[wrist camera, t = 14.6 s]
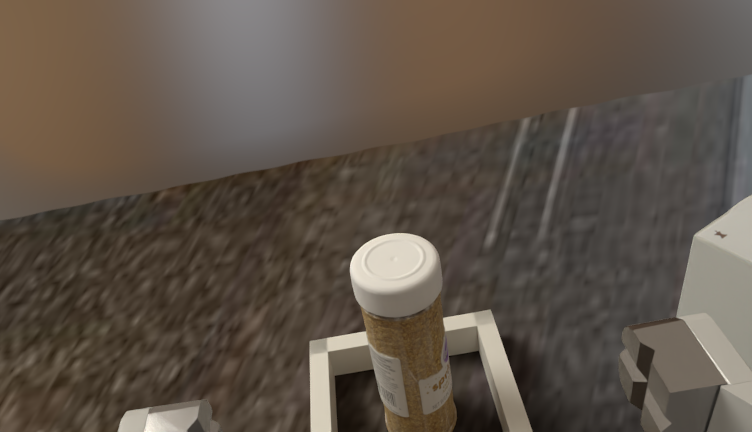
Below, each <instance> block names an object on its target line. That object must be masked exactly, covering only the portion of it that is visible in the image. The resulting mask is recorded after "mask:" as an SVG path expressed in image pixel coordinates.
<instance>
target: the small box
mask: <svg viewBox="0 0 752 432" xmlns="http://www.w3.org/2000/svg"><path fill="white" fill-rule="evenodd" d="M699 313H706V314H708V315H710V316H711V317H712V319H713V320H714V321H715V323H716V324H717V325H718V327H719V328H720V329H721V331H722V332H723V333H724V335H725V336H726V337H727V339H728V340H729V341H730V343H731V344H732V345H733V346H734V348H735V349H736V350H737V352H738V353H739V354H740V356H741V357H742V358H743V360H744V361H745V362H746V364H747V365H748V366H749V368H750V369H751V370H752V195H751V196H749V197H747V198H745V199H744V200H742V201H741V202H739V203H738V204H736V205H735V206H734V207H732V208H731V209H730V210H729V211H728V212H726V213H725V214H724V215H722V216H721V217H719V218H718V219H716V220H715V221H713V222H712V223H711V224H709V225H708V226H706V227H705V228H703V229H702V230H700V231H699V232H697V233H696V234H695V235H694V238H693V242H692V247H691V251H690V256H689V261H688V265H687V270H686V274H685V279H684V284H683V288H682V293H681V297H680V302H679V307H678V311H677V316H676V318H678V317H682V316H688V315H693V314H699Z"/></svg>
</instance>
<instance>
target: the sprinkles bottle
mask: <svg viewBox="0 0 752 432" xmlns="http://www.w3.org/2000/svg"><path fill="white" fill-rule="evenodd" d="M350 275H351V280H352V286H353V290H354V294H355V297H356V300H357V301H358V303H359V304H360V305H361V309H362V314H363V317H364V322H365V326H366V336H367V341H368V345H369V349H370V354H371V358H372V363H373V367H374V371H375V375H376V380H377V384H378V389H379V393H380V397H381V399H382V401H383V403H384V407H385V422H386V426H387V429H388V431H389V432H453V429H454V426H455V425H456V420H457V410H456V407H455V404H454V402H453V395H452V378H451V370H450V363H449V354H448V347H447V339H446V331H445V327H444V322H443V312H442V307H441V305H442V304H441V297H440V293H441V288H442V273H441V265H440V259H439V255H438V252H437V250H436V249H435V247H434V246H433V245H432V244H431V243H430V242H429V241H427V240H425V239H424V238H422V237H419V236H416V235H412V234H405V233H396V234H388V235H384V236H380V237H378V238H375V239H373V240H371V241H369V242H367V243H366V244H364V245H363V246H362V247H361V248H360V249H359V250H358V251H357V252H356V253H355V255H354V256H353V258H352V261H351V264H350Z"/></svg>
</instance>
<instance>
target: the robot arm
mask: <svg viewBox="0 0 752 432" xmlns="http://www.w3.org/2000/svg"><path fill="white" fill-rule="evenodd" d="M622 341H623V343H624V345H625V347H626V349H625V350H624V351H623V352H622V353H621V354H620V355H619V364H618V368H619V374H620V380H621V383H622V386H623V389H624V392H625V394H626V396H627V398H628V400H629V402H630V403H631V404H633V405H634V406H636V407H638V408H639V409H641V410H642V416H641V421H640V423H641V425H642V427H643V429H644V431H645V432H752V370H751V369H750V368H749V366H748V365H747V364H746V362H745V361H744V360H743V358H742V357H741V356H740V354H739V353H738V352H737V350H736V349H735V348H734V346H733V345H732V344H731V343H730V341H729V340H728V339H727V337H726V336H725V335H724V333H723V332H722V331H721V329H720V328H719V327H718V325H717V324H716V323H715V321H714V320H713V319H712V317H711V316H710V315H708V314H706V313H699V314H693V315H688V316H682V317H678V318H676V317H673V318H668V319H662V320H657V321H651V322H646V323H641V324H635V325H630V326H626V327H625V329H624V330H623V334H622ZM211 416H212V408H211V406H210V405H209V403H208V401H207V399H206V400H198V401H191V402H184V403H177V404H170V405H163V406H156V407H150V408H144V409H137V410H131V411H127V412H126V413H125V415H124V416H123V418H122V419H121V422H120V426H119V429H118V432H223V431H222V429H221V427H220V425H219V423H217V422H215V421H213V420H211Z"/></svg>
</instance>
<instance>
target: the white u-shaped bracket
mask: <svg viewBox="0 0 752 432" xmlns="http://www.w3.org/2000/svg"><path fill="white" fill-rule="evenodd" d="M443 322H444V327H445V331H446V339H447V347H448V354H449V356H452V355H458V354H463V353H469V352H475V351H479V353H480V356H481V360H482V363H483V366H484V370H485V373H486V376H487V380H488V383H489V386H490V390H491V393H492V396H493V400H494V403H495V406H496V410H497V413H498V416H499V420H500V423H501V426H502V430H503V432H533V431H532V428H531V426H530V423H529V420H528V417H527V414H526V411H525V408H524V405H523V402H522V399H521V397H520V394H519V391H518V388H517V385H516V382H515V379H514V376H513V373H512V370H511V368H510V365H509V362H508V359H507V356H506V353H505V350H504V347H503V344H502V341H501V338H500V336H499V333H498V330H497V327H496V324H495V321H494V318H493V315H492V312H491V310H486V311H480V312H475V313H469V314H463V315H457V316H452V317H446V318H443ZM371 369H374V367H373V363H372V358H371V354H370V349H369V345H368V341H367V336H366V332H360V333H354V334H348V335H343V336H337V337H331V338H325V339H320V340H314V341H310V402H311V432H338V428H337V410H336V391H335V376H337V375H343V374H348V373H354V372H360V371H366V370H371Z"/></svg>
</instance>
